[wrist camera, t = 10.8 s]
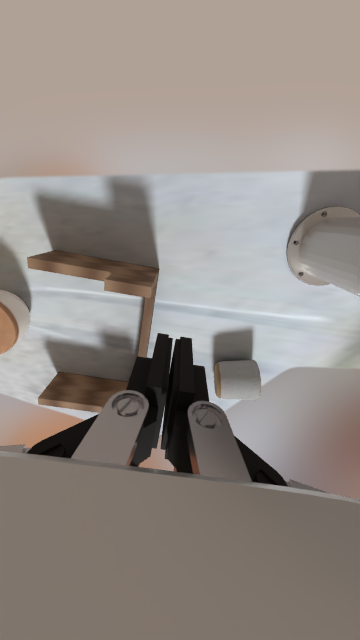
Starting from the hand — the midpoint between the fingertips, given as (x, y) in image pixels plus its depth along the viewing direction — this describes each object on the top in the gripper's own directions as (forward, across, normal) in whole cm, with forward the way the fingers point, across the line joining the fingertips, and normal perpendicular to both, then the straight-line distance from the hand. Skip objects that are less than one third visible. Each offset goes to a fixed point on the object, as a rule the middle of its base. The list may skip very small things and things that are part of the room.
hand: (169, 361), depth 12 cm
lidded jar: (+32, +30, +15) cm, 46 cm away
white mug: (+32, -15, +22) cm, 42 cm away
